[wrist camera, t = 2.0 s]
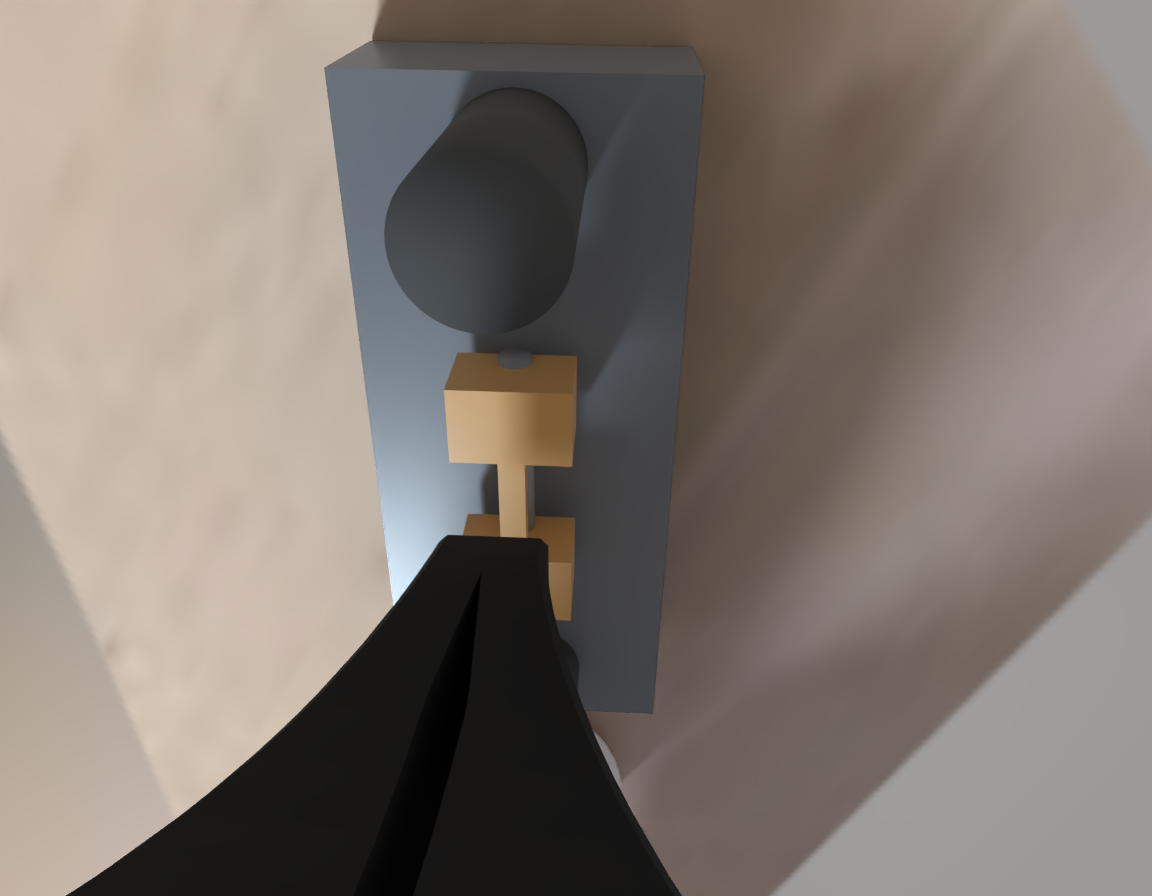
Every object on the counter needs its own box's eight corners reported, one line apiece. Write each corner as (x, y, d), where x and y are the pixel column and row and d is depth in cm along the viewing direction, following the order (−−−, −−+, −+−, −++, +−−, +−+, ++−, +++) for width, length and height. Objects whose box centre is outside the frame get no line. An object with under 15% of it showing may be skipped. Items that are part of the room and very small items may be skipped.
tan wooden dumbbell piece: (573, 577, 16) (570, 625, 15) (472, 573, 16) (461, 620, 15) (576, 350, 13) (573, 387, 12) (457, 346, 13) (443, 383, 12)
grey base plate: (650, 626, 20) (653, 713, 18) (429, 617, 20) (406, 702, 18) (692, 46, 14) (704, 75, 12) (371, 40, 14) (324, 68, 12)
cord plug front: (587, 236, 13) (575, 336, 10) (449, 234, 13) (394, 333, 10) (588, 88, 12) (574, 148, 9) (438, 87, 12) (373, 146, 9)
